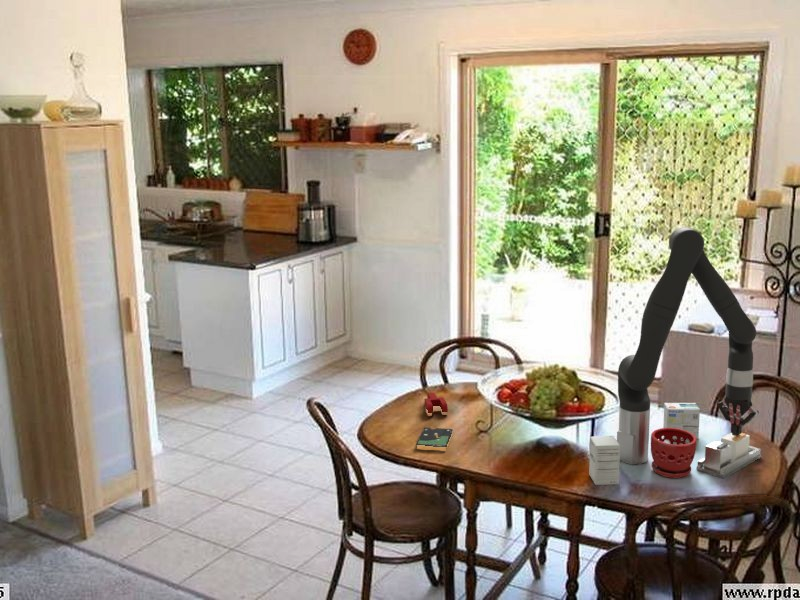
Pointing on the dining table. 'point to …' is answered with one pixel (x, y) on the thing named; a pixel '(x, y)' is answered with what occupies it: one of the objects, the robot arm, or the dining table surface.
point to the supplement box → (604, 460)
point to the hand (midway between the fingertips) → (736, 435)
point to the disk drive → (434, 437)
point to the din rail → (724, 459)
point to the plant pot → (672, 452)
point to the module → (737, 445)
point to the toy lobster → (435, 403)
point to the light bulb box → (682, 417)
